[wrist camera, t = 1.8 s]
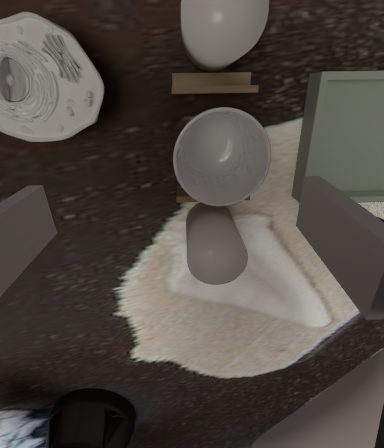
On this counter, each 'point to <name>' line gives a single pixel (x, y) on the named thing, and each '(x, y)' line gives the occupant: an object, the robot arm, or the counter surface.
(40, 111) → the cell model
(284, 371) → the counter surface
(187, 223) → the grey tapered cylinder
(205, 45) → the white pillar candle
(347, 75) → the tray
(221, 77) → the rack
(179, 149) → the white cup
